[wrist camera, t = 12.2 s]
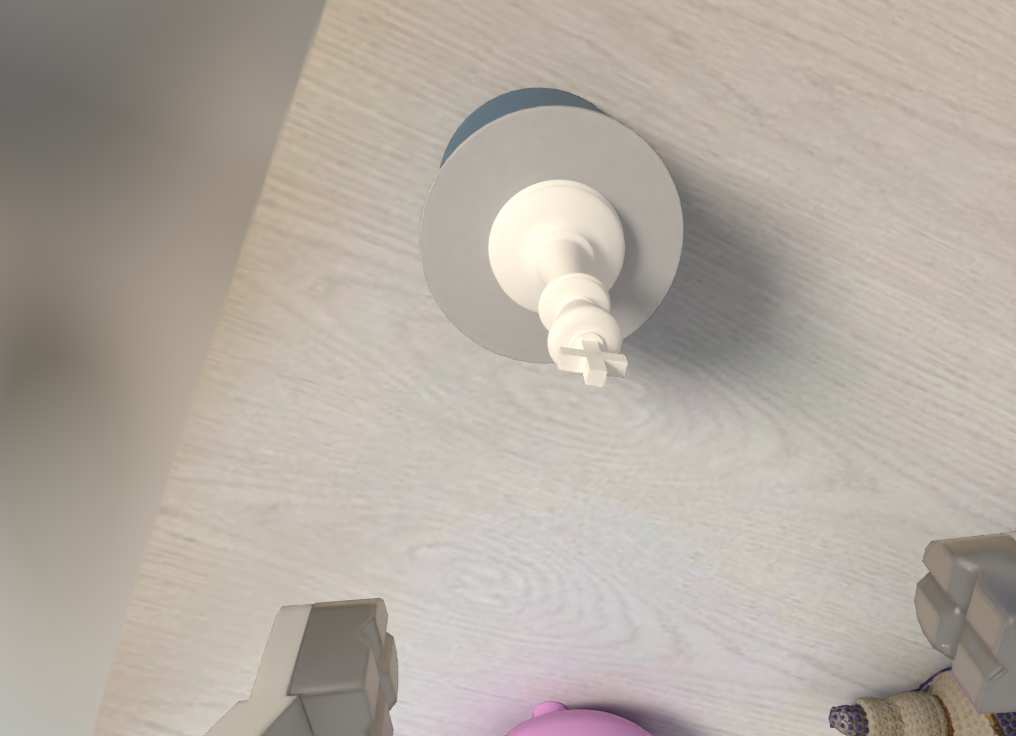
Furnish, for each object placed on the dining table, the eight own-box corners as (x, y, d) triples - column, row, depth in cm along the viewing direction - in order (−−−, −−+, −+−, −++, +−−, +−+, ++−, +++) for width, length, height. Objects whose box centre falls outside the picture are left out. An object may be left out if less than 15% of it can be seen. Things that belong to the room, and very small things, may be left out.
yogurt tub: (481, 40, 31) (482, 56, 23) (678, 136, 33) (734, 177, 26) (401, 244, 34) (381, 310, 27) (582, 317, 37) (607, 396, 29)
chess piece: (607, 318, 28) (668, 472, 19) (479, 301, 27) (480, 451, 18) (638, 190, 26) (724, 297, 17) (499, 169, 25) (512, 267, 16)
